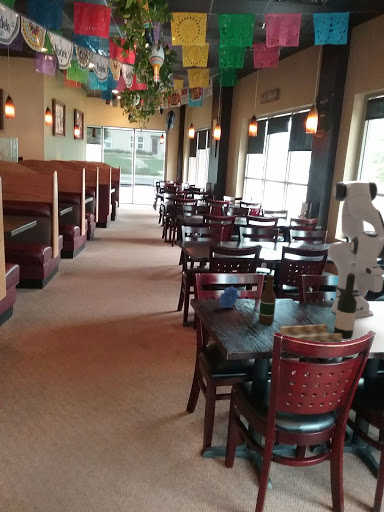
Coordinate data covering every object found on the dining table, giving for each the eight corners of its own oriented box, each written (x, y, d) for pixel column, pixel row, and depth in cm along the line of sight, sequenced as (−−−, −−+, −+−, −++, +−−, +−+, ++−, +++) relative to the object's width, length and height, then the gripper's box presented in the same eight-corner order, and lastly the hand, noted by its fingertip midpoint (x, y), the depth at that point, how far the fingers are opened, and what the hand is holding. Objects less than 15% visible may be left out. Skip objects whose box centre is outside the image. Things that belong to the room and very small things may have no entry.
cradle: (324, 331, 202) (325, 324, 202) (341, 341, 190) (342, 334, 190) (279, 334, 195) (280, 326, 195) (294, 345, 183) (295, 337, 183)
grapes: (233, 304, 235) (235, 283, 232) (239, 308, 229) (241, 287, 226) (215, 306, 230) (216, 285, 227) (221, 310, 224) (222, 288, 221)
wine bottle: (353, 340, 193) (362, 276, 187) (334, 337, 195) (343, 274, 189) (350, 333, 201) (359, 272, 195) (332, 331, 203) (340, 270, 197)
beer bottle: (275, 325, 207) (280, 277, 202) (259, 324, 206) (264, 277, 201) (271, 319, 214) (276, 273, 209) (256, 319, 213) (260, 273, 209)
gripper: (345, 262, 202) (341, 289, 205) (375, 272, 183) (370, 302, 186) (356, 261, 204) (352, 289, 207) (387, 272, 185) (382, 302, 188)
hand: (361, 296), depth 196 cm, fingers closed
